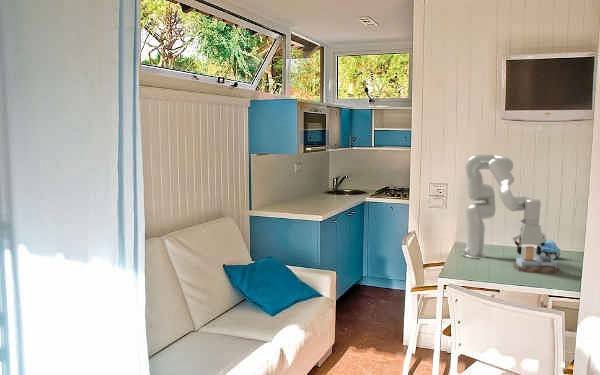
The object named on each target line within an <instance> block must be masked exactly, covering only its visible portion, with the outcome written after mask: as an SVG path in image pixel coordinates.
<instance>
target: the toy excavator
mask: <svg viewBox="0 0 600 375" xmlns="http://www.w3.org/2000/svg"><path fill="white" fill-rule="evenodd" d="M541 237H543V238H545V239H547V238H546V234H545V232H544V231H542V230H541ZM542 242H543V240H542V239H541V243H542ZM560 254H561V248H559V247H558V246H557V243H556V242H555V241H554V240H552V239H547V242H546V243H545V245H544V246H542V248H541V253H540V255H539V257H540V256H547V257H549V258H551V259H552V260H553V261H555V260H556V259H557V258H559V257H560Z"/></svg>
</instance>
